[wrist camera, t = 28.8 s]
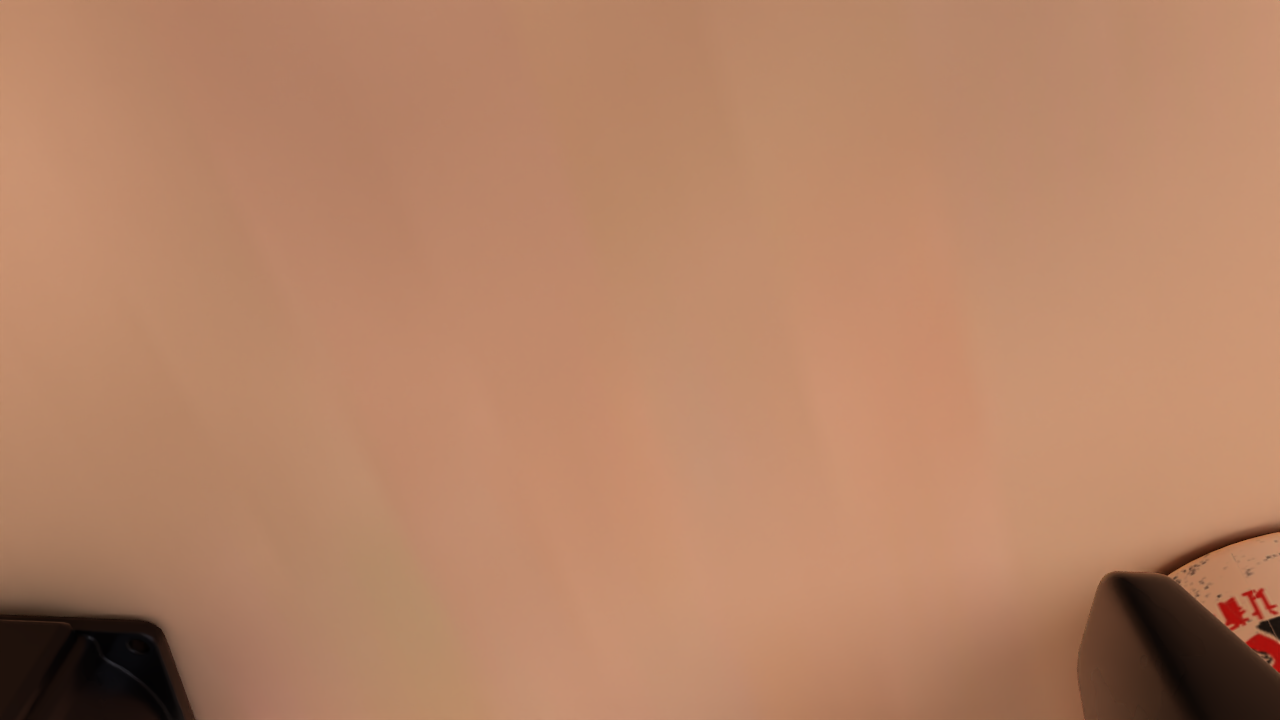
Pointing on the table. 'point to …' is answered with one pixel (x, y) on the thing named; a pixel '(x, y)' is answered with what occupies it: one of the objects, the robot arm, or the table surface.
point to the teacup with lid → (1241, 591)
